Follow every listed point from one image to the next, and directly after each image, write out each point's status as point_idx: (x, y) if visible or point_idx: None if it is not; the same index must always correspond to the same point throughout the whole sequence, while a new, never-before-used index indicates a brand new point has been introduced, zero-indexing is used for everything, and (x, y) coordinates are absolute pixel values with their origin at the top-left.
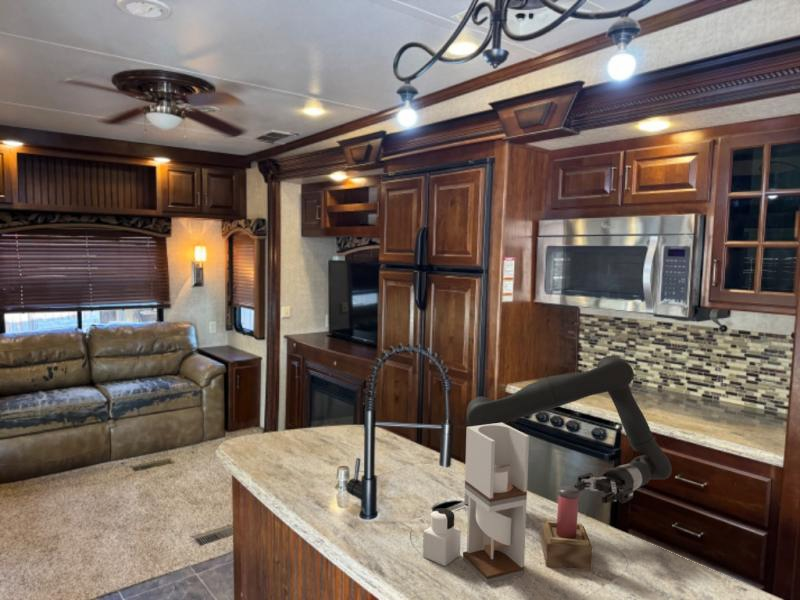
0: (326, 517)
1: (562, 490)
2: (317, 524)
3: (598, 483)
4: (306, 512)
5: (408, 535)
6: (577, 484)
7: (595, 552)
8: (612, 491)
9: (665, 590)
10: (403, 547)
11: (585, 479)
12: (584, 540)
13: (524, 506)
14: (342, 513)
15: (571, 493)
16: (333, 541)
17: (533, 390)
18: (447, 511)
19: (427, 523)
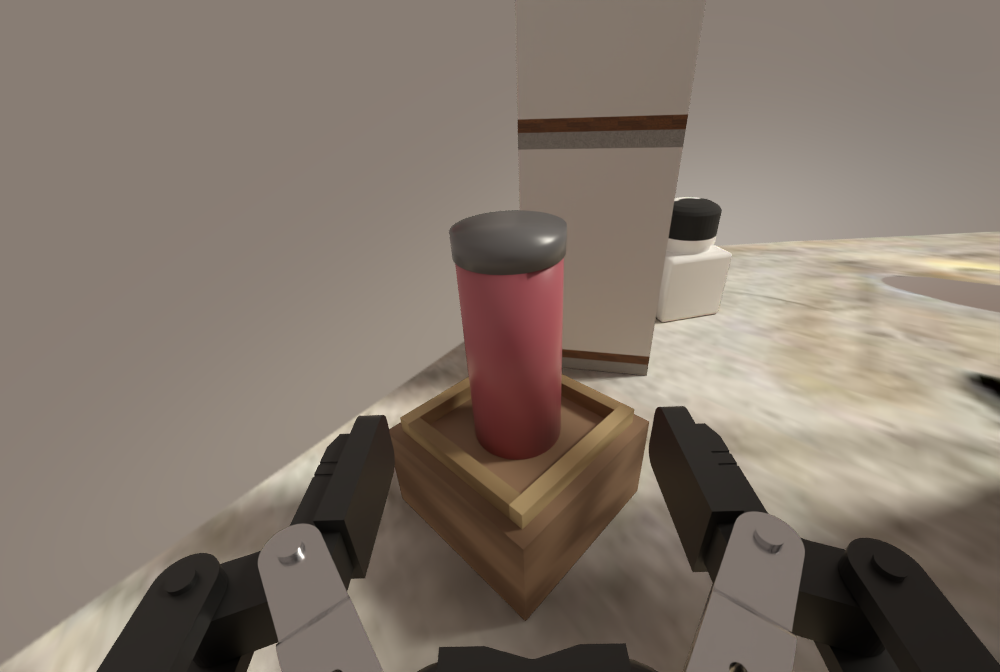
0: (890, 251)
1: (522, 214)
2: (854, 242)
3: (607, 647)
4: (915, 242)
5: (785, 298)
6: (667, 410)
7: (456, 638)
8: (317, 533)
9: (92, 618)
10: (729, 282)
11: (782, 568)
12: (420, 413)
13: (520, 172)
14: (916, 265)
15: (471, 220)
16: (777, 243)
17: None
18: (688, 203)
19: (858, 336)
